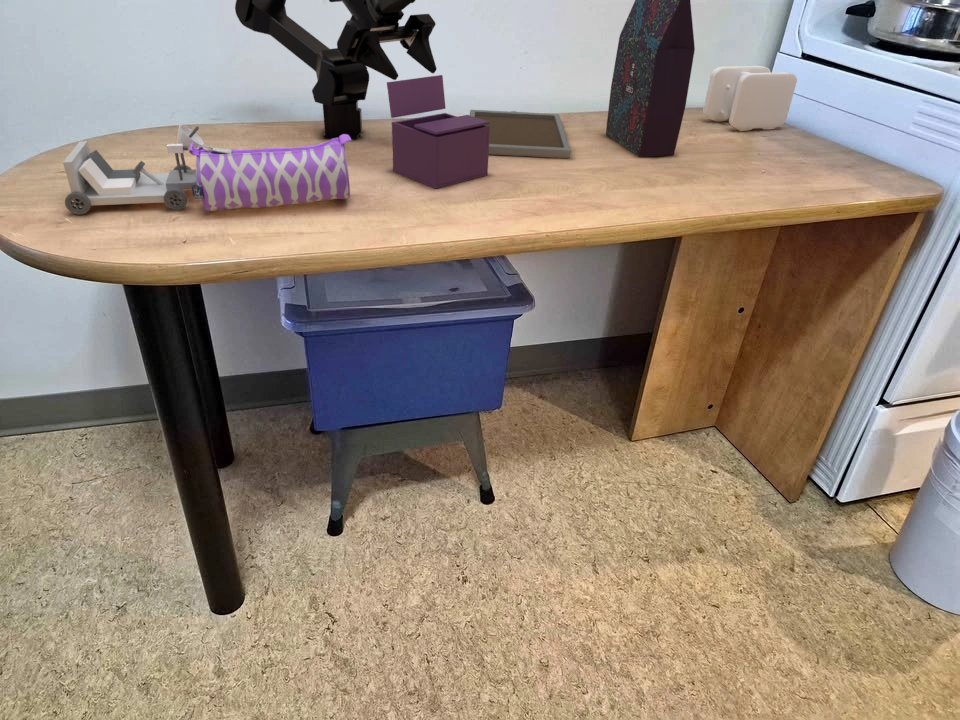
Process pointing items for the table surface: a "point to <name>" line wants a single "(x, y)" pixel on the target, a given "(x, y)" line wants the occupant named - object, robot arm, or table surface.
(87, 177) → the toy car
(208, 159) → the pencil case
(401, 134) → the box
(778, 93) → the cable organizer
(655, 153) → the decorative box
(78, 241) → the table surface
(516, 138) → the grey rectangular tray
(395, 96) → the flap
